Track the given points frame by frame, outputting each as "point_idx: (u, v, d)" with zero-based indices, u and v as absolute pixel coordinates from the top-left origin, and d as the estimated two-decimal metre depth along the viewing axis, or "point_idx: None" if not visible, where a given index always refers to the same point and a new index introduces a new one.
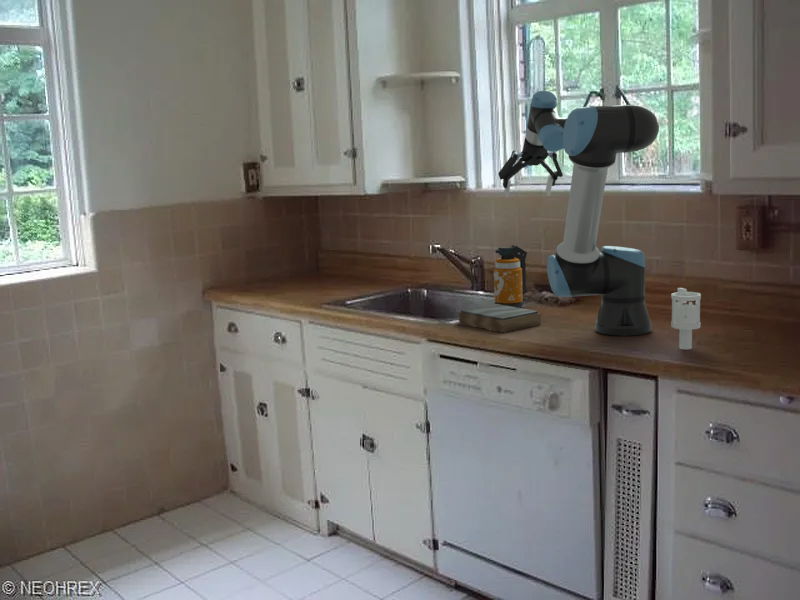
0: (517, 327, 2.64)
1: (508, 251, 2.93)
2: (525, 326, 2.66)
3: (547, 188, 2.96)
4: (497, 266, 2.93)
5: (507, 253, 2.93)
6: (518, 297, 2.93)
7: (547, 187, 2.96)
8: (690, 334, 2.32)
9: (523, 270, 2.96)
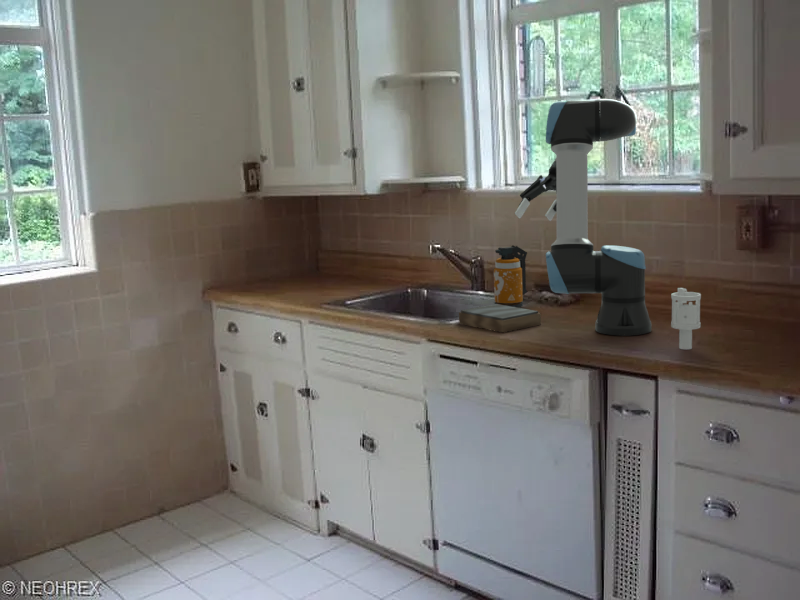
0: (517, 327, 2.64)
1: (508, 251, 2.93)
2: (525, 326, 2.66)
3: None
4: (497, 266, 2.93)
5: (507, 253, 2.93)
6: (518, 297, 2.93)
7: None
8: (690, 334, 2.32)
9: (523, 270, 2.96)
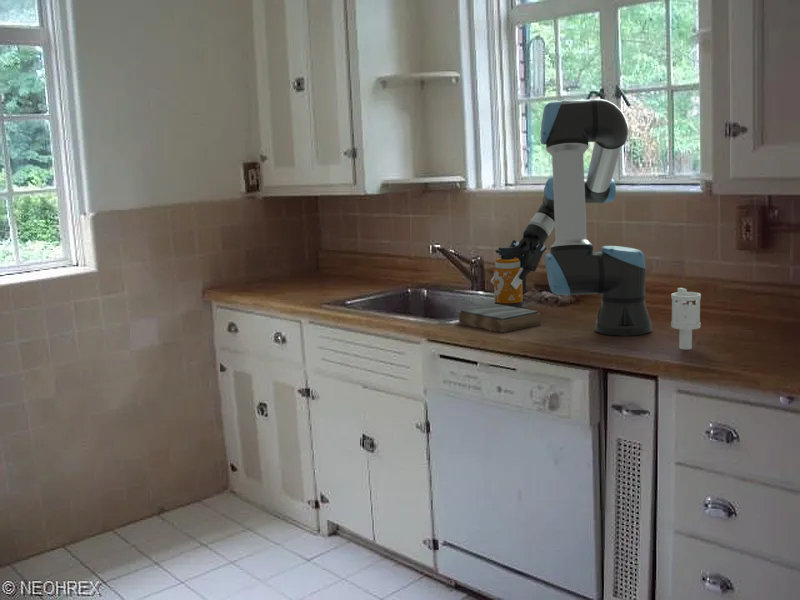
0: (517, 327, 2.64)
1: (508, 251, 2.93)
2: (525, 326, 2.66)
3: None
4: (497, 266, 2.93)
5: (508, 253, 2.93)
6: (518, 297, 2.93)
7: None
8: (690, 334, 2.32)
9: None
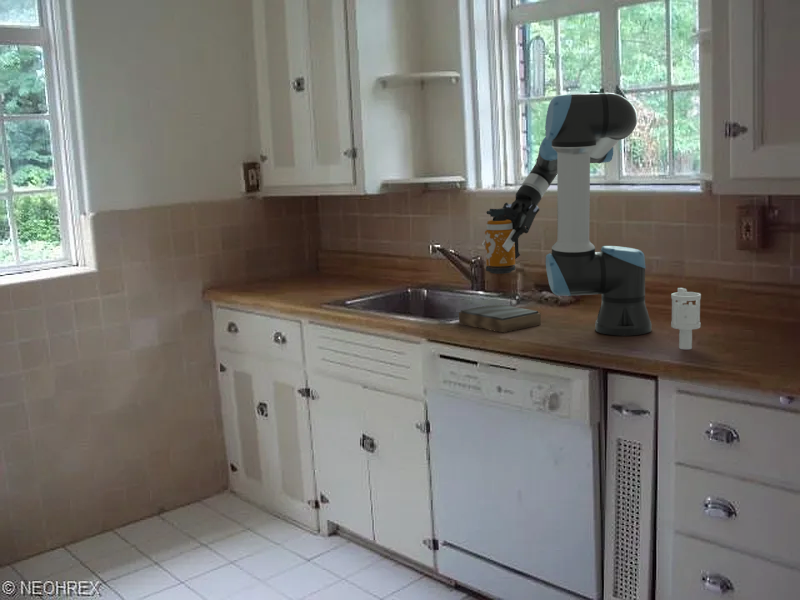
0: (517, 327, 2.64)
1: (500, 212, 2.82)
2: (525, 326, 2.66)
3: None
4: (488, 228, 2.82)
5: (499, 214, 2.82)
6: (510, 260, 2.82)
7: None
8: (690, 334, 2.32)
9: None
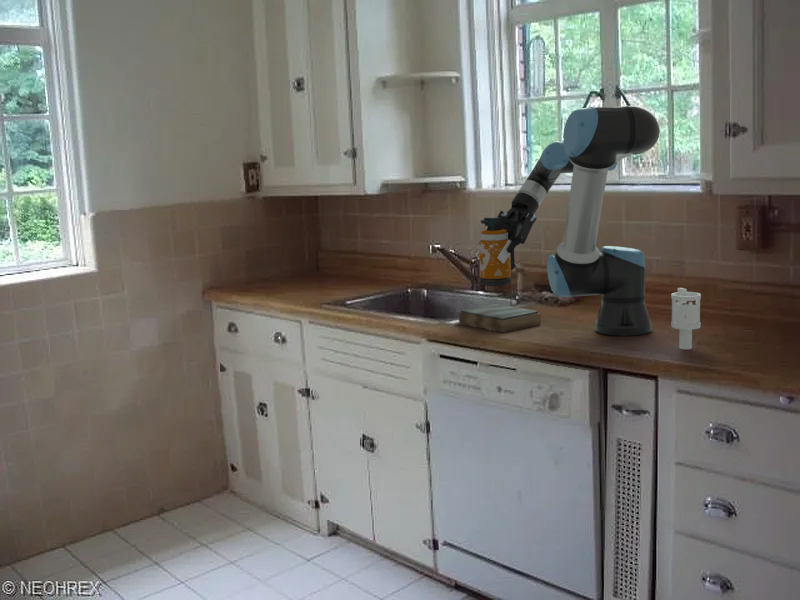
0: (517, 327, 2.64)
1: (495, 221, 2.66)
2: (525, 326, 2.66)
3: None
4: (483, 238, 2.66)
5: (494, 224, 2.66)
6: (506, 272, 2.66)
7: None
8: (690, 334, 2.32)
9: None
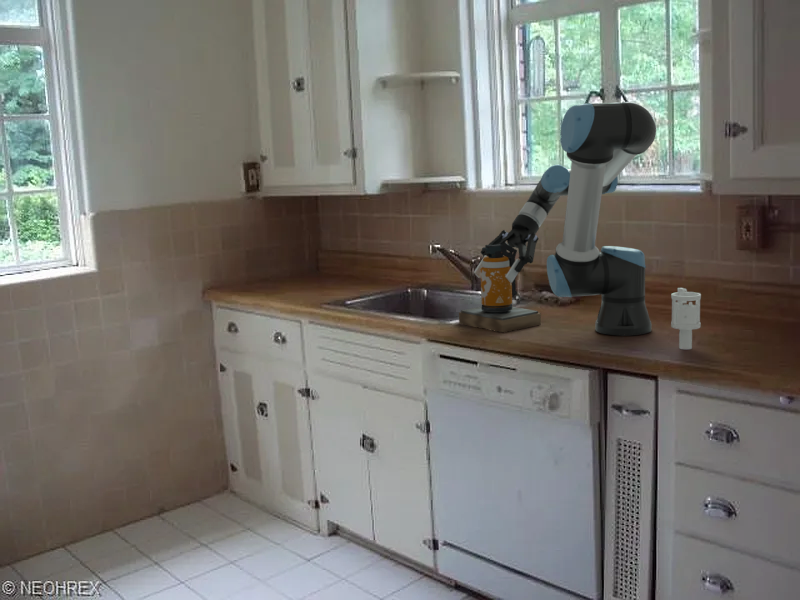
0: (517, 327, 2.64)
1: (496, 249, 2.67)
2: (525, 326, 2.66)
3: None
4: (484, 265, 2.67)
5: (495, 251, 2.67)
6: (507, 299, 2.68)
7: None
8: (690, 334, 2.32)
9: None
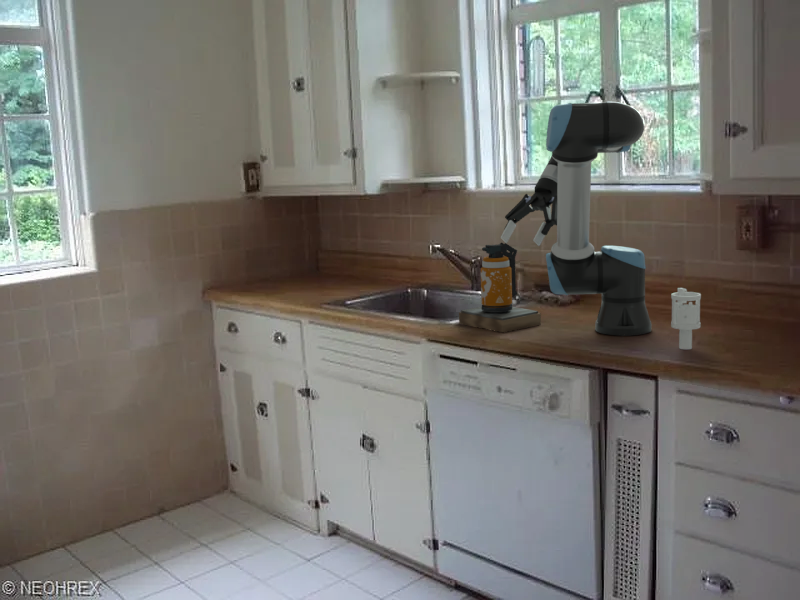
0: (517, 327, 2.64)
1: (496, 249, 2.67)
2: (525, 326, 2.66)
3: None
4: (484, 265, 2.68)
5: (495, 251, 2.67)
6: (507, 299, 2.68)
7: None
8: (690, 334, 2.32)
9: (513, 270, 2.71)
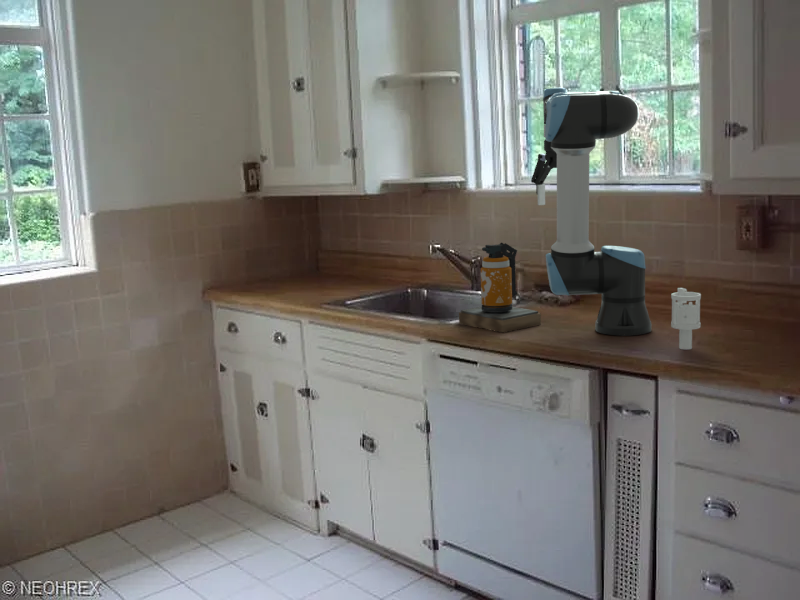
0: (517, 327, 2.64)
1: (496, 249, 2.67)
2: (525, 326, 2.66)
3: None
4: (484, 265, 2.68)
5: (495, 251, 2.68)
6: (507, 299, 2.68)
7: None
8: (690, 334, 2.32)
9: (513, 270, 2.71)
